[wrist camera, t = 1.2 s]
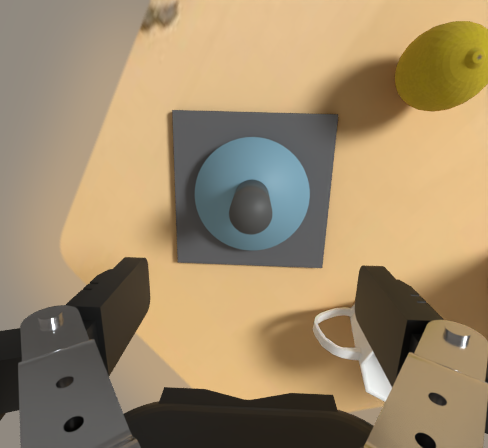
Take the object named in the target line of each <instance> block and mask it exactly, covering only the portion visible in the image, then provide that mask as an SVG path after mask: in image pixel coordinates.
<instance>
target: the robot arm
mask: <svg viewBox="0 0 488 448" xmlns="http://www.w3.org/2000/svg"><path fill="white" fill-rule="evenodd" d="M149 305H150V285H149V272H148V262H147V259H146V258H133V257H125V258H124V259H123V260H122V261H120V262H119V263H118V264H117V265H116V266H115V267H114V268H113V269H109V270H107V271H105V272H103V273H101V274H99V275H97V276H96V277H95V278H94V279H93V280H92V281H91V282H90V284H88V285H87V286H85V287H84V289H83V290H81V291H80V292H79V293H78V294H77V295H76V296H75V297H73V298H72V299H71V300H70V301H69V302H68V303H67V304H66V305H61V306H53V307H48V308H45V309H42V310H39V311H37V312H35V313H33V314H31V315H30V316H28V317H27V318H26V319H24V320H23V322H22V323H21V326H20V328H19V329H12V330H5V331H0V420H1V419H2V417H3V416H4V415H5V413H7V412H12V411H17V410H19V411H20V443H21V448H483V444H484V433H487V434H488V341H487V340H486V338H485V337H484V336H483V335H481V334H480V333H479V332H477V331H476V330H474V329H472V328H470V327H468V326H466V325H463V324H460V323H457V322H453V321H448V320H444V319H443V318H442V317H441V316H440V315H439V314H438V313H437V312H436V311H435V310H434V309H433V308H432V307H431V306H430V305H429V304H428V303H426V301H425V300H424V299H423V298H422V297H421V296H419V294H418V293H417V292H416V291H415V290H414V289H413V288H412V287H411V286H409V285H407V284H405V283H404V282H402V281H400V280H396V279H395V278H394V277H393V276H392V275H391V274H390V272H389V271H388V270H387V269H386V268H385V267H383V266H361V268H360V271H359V277H358V284H357V291H356V298H355V316H356V320H357V322H358V324H359V326H360V328H361V330H362V331H363V333H364V335H365V337H366V339H367V341H368V343H369V345H370V347H371V349H372V350H373V352H374V354H375V356H376V358H377V360H378V362H379V364H380V366H381V367H382V369H383V371H384V373H385V375H386V377H387V379H388V381H389V383H390V385H391V386H392V389H391V391H390V393H389V395H388V397H387V400H386V402H385V404H384V406H383V408H382V410H381V412H380V414H379V416H378V418H377V420H376V423H375V425H374V426H373V425H371V424H370V423H368V422H366V421H365V420H363V419H360V418H358V417H356V416H354V415H352V414H349V413H346V412H344V411H340V410H337V407H336V404H335V400H334V397H333V395H322V394H300V393H289V394H283V395H277V396H271V397H266V398H260V399H254V400H244V399H240V398H236V397H232V396H229V395H225V394H221V393H218V392H214V391H210V390H206V389H190V388H189V389H188V388H167V387H164V390H163V393H162V395H161V398H160V401H159V402H153V403H150V404H146V405H143V406H140V407H137V408H135V409H133V410H131V411H128V412H127V413H124V414H123V412H122V409H121V407H120V404H119V402H118V399H117V397H116V394H115V392H114V389H113V386H112V384H111V381H110V379H109V376H110V374H111V372H112V371H113V369H114V367H115V366H116V364H117V362H118V361H119V359H120V357H121V355H122V354H123V352H124V350H125V349H126V347H127V345H128V344H129V342H130V340H131V339H132V337H133V335H134V334H135V332H136V330H137V329H138V327H139V325H140V324H141V322H142V320H143V318H144V317H145V315H146V313H147V312H148V309H149Z"/></svg>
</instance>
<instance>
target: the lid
mask: <svg viewBox="0 0 488 448" xmlns="http://www.w3.org/2000/svg"><path fill="white" fill-rule="evenodd" d="M309 199H310V189H309V182H308V178H307V175H306V173H305V170H304V168H303V166H302V165H301V163H300V162H299V160H298V159H297V158H296V156H295V155H294V154H293V153H291V152H290V151H289V150H288V149H287V148H285V147H284V146H282V145H280V144H279V143H277V142H274V141H272V140H269V139H265V138H260V137H245V138H239V139H236V140H233V141H230V142H228V143H226V144H224V145H222V146H221V147H219V148H218V149H216V150H215V151H214V152H213V153H212V154H211V155H210V156H209V157H208V158H207V159H206V161H205V162H204V164H203V165H202V167H201V169H200V171H199V173H198V177H197V180H196V185H195V203H196V208H197V211H198V214H199V217H200V218H201V220H202V222H203V224H204V225H205V227H206V228H207V229H208V231H209V232H210V233H211V234H212V235H213V236H214V237H216V238H217V239H218V240H220V241H221V242H223V243H225V244H227V245H229V246H231V247H234V248H237V249H242V250H263V249H267V248H271V247H273V246H276V245H278V244H280V243H282V242H283V241H285V240H286V239H287V238H289V237H290V236H291V235H292V234H293V233H294V232H295V231H296V230H297V229H298V227H299V226H300V225H301V223H302V221H303V220H304V217H305V215H306V213H307V209H308V206H309Z"/></svg>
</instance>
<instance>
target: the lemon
mask: <svg viewBox="0 0 488 448" xmlns="http://www.w3.org/2000/svg"><path fill="white" fill-rule="evenodd" d="M487 84H488V29H486V28H485V27H484V26H482V25H480V24H477V23H473V22H470V21H456V22H449V23H446V24H442V25H439V26H436V27H433V28H431V29H430V30H428V31H426V32H424V33H423V34H421V35H420V36H418V37H417V38H416V39H415V40H414V41H413V42H412V43H411V44H410V45H409V46H408V47H407V48H406V50H405V51H404V53H403V54H402V55H401V57H400V59H399V62H398V64H397V67H396V72H395V85H396V89H397V92H398V94H399V95H400V97H401V98H402V100H403V101H404V102H406V103H407V104H408V105H409V106H411V107H414V108H416V109H418V110H424V111H440V110H447V109H450V108H452V107H455V106H458V105H460V104H463V103H464V102H466V101H468V100H469V99H471V98H472V97H474V96H475V95H477V94H478V93H479V92H480V91H481V90H482V89H483V88H484V87H485V86H486V85H487Z"/></svg>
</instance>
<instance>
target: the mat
mask: <svg viewBox="0 0 488 448" xmlns="http://www.w3.org/2000/svg"><path fill="white" fill-rule="evenodd" d="M172 113H173V141H174V170H175V198H176V226H177V254H178V262H180V263H206V264H231V265H257V266H282V267H308V268H322V265H323V255H324V246H325V236H326V227H327V218H328V208H329V199H330V189H331V180H332V170H333V161H334V151H335V142H336V132H337V123H338V114H300V113H262V112H224V111H187V110H172ZM245 137H260V138H265V139H269V140H272V141H274V142H277V143H279V144H280V145H282V146H284V147H285V148H287V149H288V150H289V151H290V152H291V153H293V154H294V155H295V156H296V158H297V159H298V160H299V162H300V163H301V165H302V166H303V168H304V170H305V173H306V175H307V178H308V182H309V189H310V199H309V206H308V209H307V213H306V215H305V217H304V220H303V221H302V223H301V225H300V226H299V227H298V229H297V230H296V231H295V232H294V233H293V234H292V235H291V236H290V237H289V238H287V239H286V240H285V241H283V242H282V243H280V244H278V245H276V246H273V247H271V248H267V249H263V250H242V249H237V248H234V247H231V246H229V245H227V244H225V243H223V242H221V241H220V240H218V239H217V238H216V237H214V236H213V235H212V234H211V233H210V232H209V231H208V229H207V228H206V227H205V225H204V224H203V222H202V220H201V218H200V217H199V214H198V211H197V208H196V203H195V185H196V180H197V177H198V173H199V171H200V169H201V167H202V165H203V164H204V162H205V161H206V159H207V158H208V157H209V156H210V155H211V154H212V153H213V152H214V151H215V150H216V149H218V148H219V147H221V146H222V145H224V144H226V143H228V142H230V141H233V140H236V139H239V138H245Z"/></svg>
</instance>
